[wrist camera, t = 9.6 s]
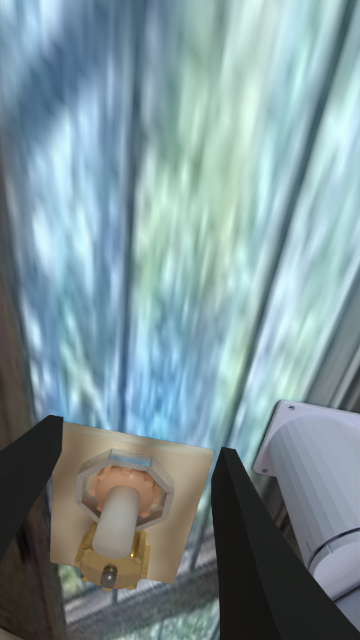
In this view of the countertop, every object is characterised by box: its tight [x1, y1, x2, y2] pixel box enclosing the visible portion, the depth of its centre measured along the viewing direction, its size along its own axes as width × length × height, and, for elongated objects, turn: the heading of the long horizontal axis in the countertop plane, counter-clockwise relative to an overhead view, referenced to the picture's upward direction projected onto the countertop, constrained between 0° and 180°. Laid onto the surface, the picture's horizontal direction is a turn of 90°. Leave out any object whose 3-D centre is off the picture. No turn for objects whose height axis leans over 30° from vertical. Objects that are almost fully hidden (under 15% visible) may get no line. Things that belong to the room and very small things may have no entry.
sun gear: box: [74, 522, 151, 592], centre depth 26 cm, size 7×7×3 cm
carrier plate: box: [50, 422, 213, 584], centre depth 27 cm, size 14×19×1 cm
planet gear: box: [89, 465, 161, 559], centre depth 22 cm, size 6×6×5 cm
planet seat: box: [75, 448, 175, 532], centre depth 24 cm, size 9×9×1 cm
